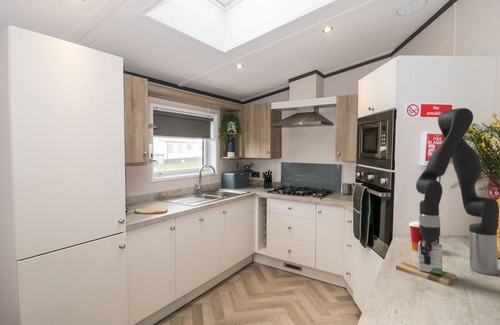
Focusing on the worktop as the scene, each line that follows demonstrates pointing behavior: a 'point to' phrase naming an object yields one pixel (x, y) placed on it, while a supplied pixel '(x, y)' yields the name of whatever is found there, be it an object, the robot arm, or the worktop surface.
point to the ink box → (435, 260)
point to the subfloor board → (426, 273)
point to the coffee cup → (415, 234)
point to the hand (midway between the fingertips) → (430, 262)
